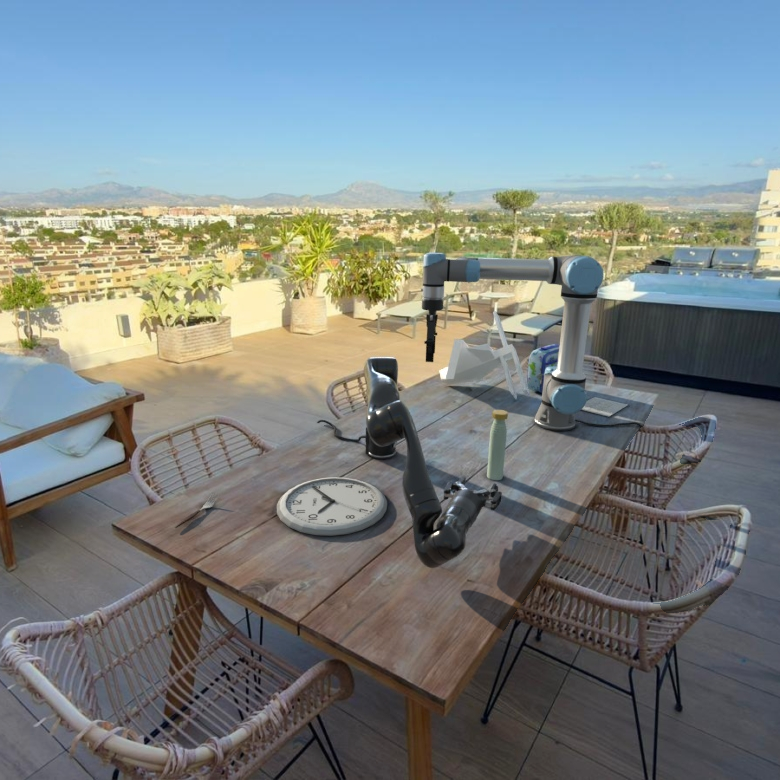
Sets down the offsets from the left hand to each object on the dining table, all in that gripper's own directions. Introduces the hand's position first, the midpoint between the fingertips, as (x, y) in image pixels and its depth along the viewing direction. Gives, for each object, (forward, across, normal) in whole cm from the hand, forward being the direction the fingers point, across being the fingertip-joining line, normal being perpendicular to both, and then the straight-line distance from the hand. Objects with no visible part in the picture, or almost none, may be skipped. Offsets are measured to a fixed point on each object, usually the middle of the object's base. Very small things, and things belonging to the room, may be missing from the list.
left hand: (479, 483), depth 141 cm
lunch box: (+123, -1, +6) cm, 123 cm away
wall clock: (-17, +36, +7) cm, 40 cm away
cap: (+20, 0, -14) cm, 24 cm away
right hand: (+48, +32, -21) cm, 62 cm away
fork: (-36, +66, +7) cm, 75 cm away
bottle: (+20, 0, +7) cm, 21 cm away
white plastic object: (+103, +27, +6) cm, 106 cm away
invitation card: (+107, -26, +6) cm, 110 cm away
